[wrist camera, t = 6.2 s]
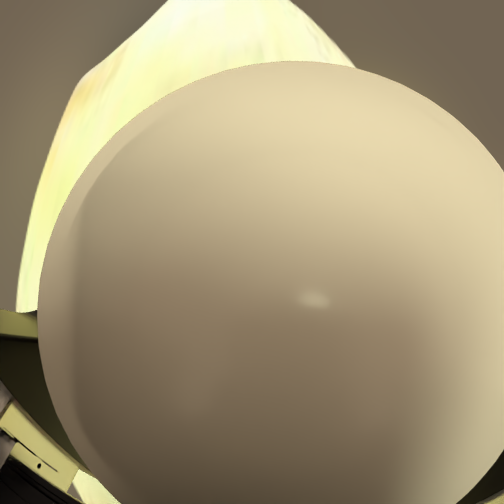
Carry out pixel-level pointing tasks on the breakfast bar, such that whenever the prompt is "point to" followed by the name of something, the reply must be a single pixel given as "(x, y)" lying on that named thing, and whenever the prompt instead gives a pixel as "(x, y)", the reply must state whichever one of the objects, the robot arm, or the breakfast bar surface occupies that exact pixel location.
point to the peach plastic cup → (281, 296)
